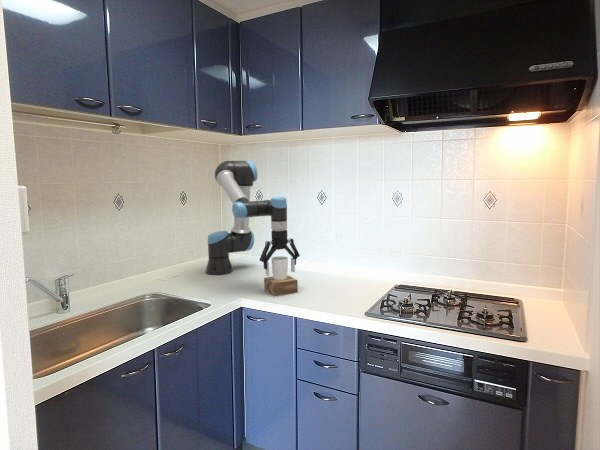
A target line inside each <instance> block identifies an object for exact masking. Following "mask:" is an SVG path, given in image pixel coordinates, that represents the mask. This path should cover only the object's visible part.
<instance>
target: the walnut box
mask: <svg viewBox="0 0 600 450" xmlns="http://www.w3.org/2000/svg"><path fill="white" fill-rule="evenodd" d="M263 283H264V284H263V285H264V288H263V289H264V291H265V292H267V293H268V292H269V293H268V294H270V295H272V296H273V297H275V296H276V297H279V296H285V295H290V294H291V295H292V294H296V293H298V292H299V291H298V289H299V288H298V287H299V286H298V284H299V283H298V279H296V278H294V277H292V276H289V275H288V274H287V279H285V280H274V279H273V276H267V277H264V278H263Z"/></svg>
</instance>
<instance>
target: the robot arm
mask: <svg viewBox="0 0 600 450" xmlns="http://www.w3.org/2000/svg"><path fill="white" fill-rule="evenodd" d="M214 170H215V171H214V179H215V181H216V183H217V184H218V185H219V186H221V187H222V189H223V191H224V192H225V194H226V195H227V197H228V198H229V200H230V202H231V203H232V207H231V211H232V215H233V227H232V228H230V232H228V231H227V230H220V231H215V232H211V233H210V234H208V236H207V252H208V261H207V264H206V268H205V271H206V274H208V275H212V276H220V275H221V276H222V275H226V274H227V275H228V274H230V273H233V270H234V269H233V265H232V262H231V260H230V254H231V253H242V252H248V251H251V250H252V249H253V247H254V244H255V235H254V233H253V231H252V229H251V228H250V227H249V225H250V222H249V221H250V218H255V217H270V226H271V227H270V228H271V232H270V233H271V240H270V241H269V240H266V241H265V242H264V243H265V244H264V247H263V250H262V252H261V255H260V258H259V262H262V264H263V270H265V272H264V273H265V276H267V277H270V262H269V260H270V259H271V258H272V256H273V255H274V253H275V251H279V250H285V251H286V252H287V254H289V255H290V272H293V273H296V267H295V266H296V265H297V259H298V258H299V257H300V256H301V255H300V252H299V251H298V249H297V247H296V245H295V242H294V238H290V237H289V238H288V230H287V229H288V204H287V198H286V197H284V196H273V197H271V198H270V199H264V200H253V201H251V188H252V187H253V186H254V182H256V181H257V179H258V169H257V165H256V164H255V163H254V162H253V161H251V160H225V161H222V162H221V163H219V164H218V165H217V166H216V169H214ZM288 244H289V246H290V247H291V249H290V248H289V246H288ZM271 245H272V246H271Z"/></svg>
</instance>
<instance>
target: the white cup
mask: <svg viewBox="0 0 600 450" xmlns="http://www.w3.org/2000/svg"><path fill="white" fill-rule="evenodd" d="M270 259H271V270H272V277H273V279H274V280H285V279H287V275H288V268H289V266H288V265H289V263H288V262H289V257H287V256H282V255H281V256H280V255H279V256H273V257H270Z"/></svg>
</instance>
